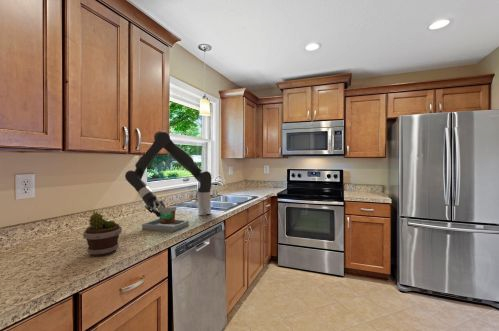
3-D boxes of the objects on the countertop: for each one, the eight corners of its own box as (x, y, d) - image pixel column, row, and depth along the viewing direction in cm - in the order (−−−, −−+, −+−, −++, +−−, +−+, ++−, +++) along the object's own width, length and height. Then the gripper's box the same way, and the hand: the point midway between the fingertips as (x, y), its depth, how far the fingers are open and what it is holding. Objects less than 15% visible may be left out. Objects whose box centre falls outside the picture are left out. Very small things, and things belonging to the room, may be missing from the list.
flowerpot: (106, 245, 118) (105, 204, 117) (129, 249, 112) (128, 206, 112) (75, 256, 104) (74, 210, 104) (100, 261, 98) (99, 212, 98)
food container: (153, 223, 147) (153, 207, 147) (160, 221, 153) (160, 205, 153) (170, 225, 143) (170, 208, 143) (176, 223, 149) (176, 207, 149)
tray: (160, 222, 160) (160, 218, 160) (188, 225, 152) (188, 220, 152) (142, 229, 145) (142, 224, 145) (172, 232, 137) (172, 227, 137)
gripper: (141, 192, 145) (158, 213, 142) (158, 190, 159) (173, 209, 155) (135, 200, 147) (151, 222, 143) (152, 197, 161) (167, 216, 157)
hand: (162, 215), depth 149 cm, fingers closed on food container, 5 cm apart
